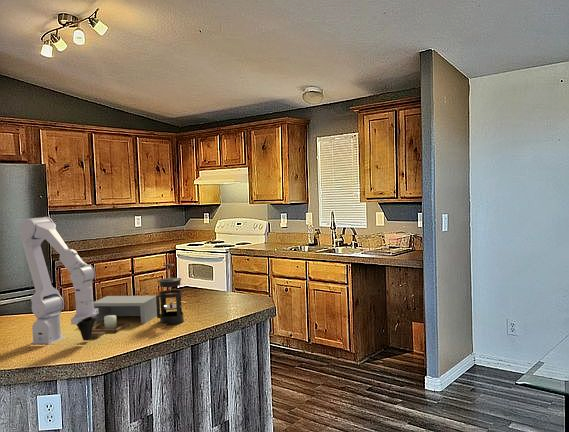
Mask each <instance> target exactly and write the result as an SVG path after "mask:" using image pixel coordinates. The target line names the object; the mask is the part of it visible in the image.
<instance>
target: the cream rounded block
mask: <svg viewBox="0 0 569 432" xmlns="http://www.w3.org/2000/svg"><path fill="white" fill-rule="evenodd" d="M103 321H104V322H103V323H104V324H105V326H104V327H105V329H115V328H117V327H118V326H117V323H118V322H117V316H116V315H107V316H104V320H103Z"/></svg>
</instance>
